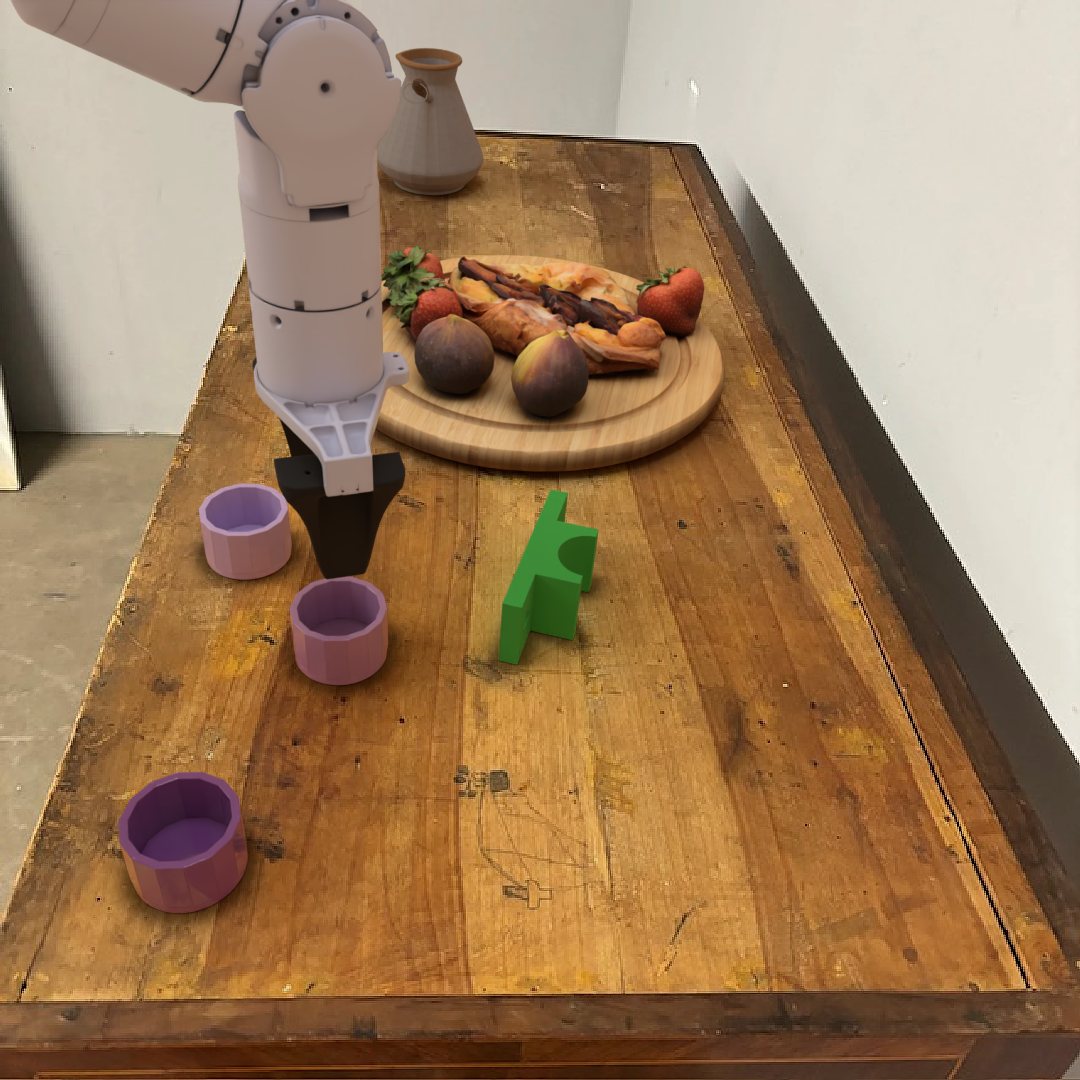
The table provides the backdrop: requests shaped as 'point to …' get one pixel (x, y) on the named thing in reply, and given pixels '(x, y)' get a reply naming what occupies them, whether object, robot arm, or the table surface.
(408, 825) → the table surface
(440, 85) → the coffee pot
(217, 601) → the table surface
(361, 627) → the mauve dish
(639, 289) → the wooden plate
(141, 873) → the plum dish
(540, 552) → the pipe clamp
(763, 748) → the table surface
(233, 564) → the lavender dish
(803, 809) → the table surface
